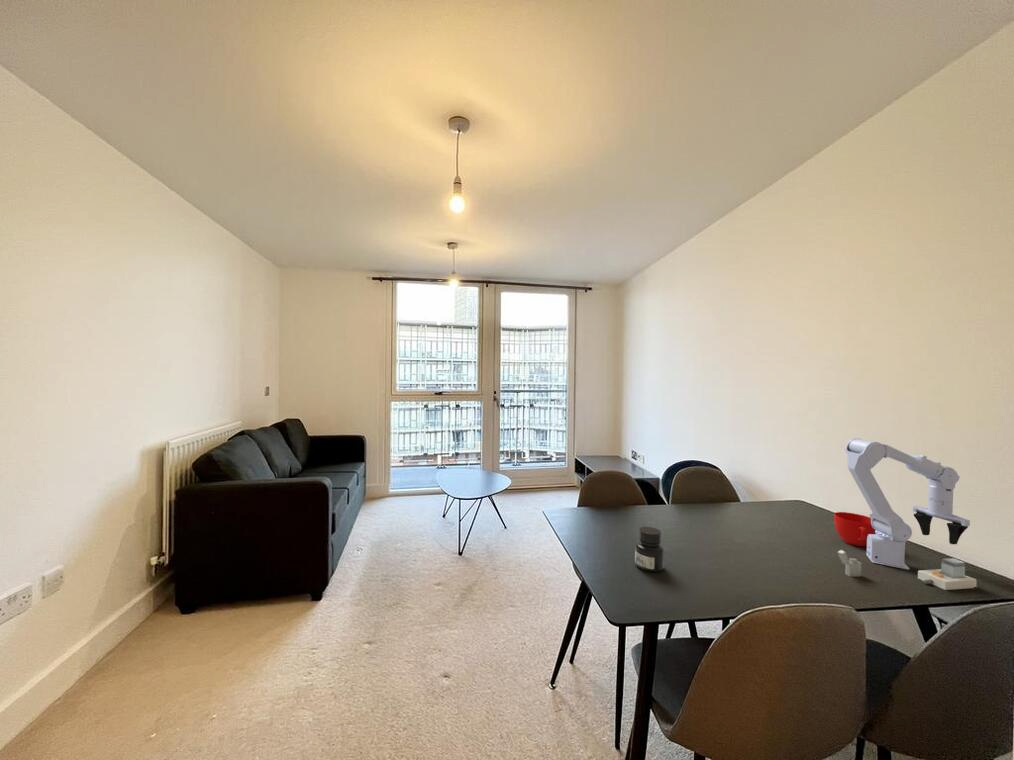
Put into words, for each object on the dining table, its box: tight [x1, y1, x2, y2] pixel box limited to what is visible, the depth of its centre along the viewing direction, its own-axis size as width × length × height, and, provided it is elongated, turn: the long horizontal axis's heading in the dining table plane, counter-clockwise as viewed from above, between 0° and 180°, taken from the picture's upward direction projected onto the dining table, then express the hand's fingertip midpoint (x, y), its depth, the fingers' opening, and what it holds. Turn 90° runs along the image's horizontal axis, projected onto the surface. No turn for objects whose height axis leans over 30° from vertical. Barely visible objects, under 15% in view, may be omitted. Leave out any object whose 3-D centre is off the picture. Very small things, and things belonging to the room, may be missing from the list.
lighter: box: [837, 549, 862, 578], centre depth 128 cm, size 7×2×8 cm, turn 96°
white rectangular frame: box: [917, 568, 977, 591], centre depth 124 cm, size 14×7×3 cm, turn 99°
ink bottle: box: [634, 526, 665, 573], centre depth 130 cm, size 10×9×12 cm
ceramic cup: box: [833, 511, 876, 547], centre depth 153 cm, size 13×17×10 cm
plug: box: [940, 557, 966, 579], centre depth 125 cm, size 4×3×7 cm, turn 99°
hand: (939, 539), depth 136 cm, fingers open, 7 cm apart
